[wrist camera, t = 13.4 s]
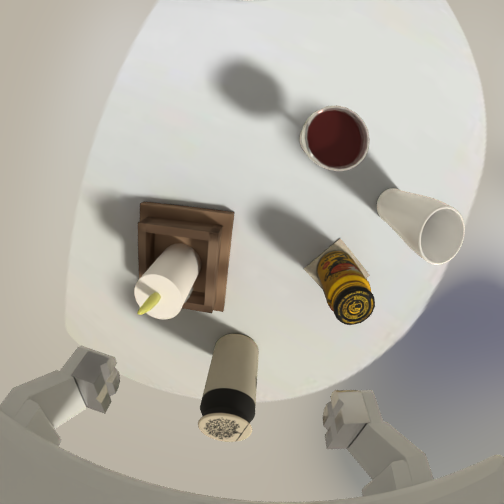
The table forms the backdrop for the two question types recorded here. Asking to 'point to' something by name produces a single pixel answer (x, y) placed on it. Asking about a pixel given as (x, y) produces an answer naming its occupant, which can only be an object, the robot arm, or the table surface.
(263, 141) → the table surface
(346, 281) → the condiment
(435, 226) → the drinking glass
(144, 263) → the candle holder
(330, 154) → the wineglass
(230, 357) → the travel mug
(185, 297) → the candle
